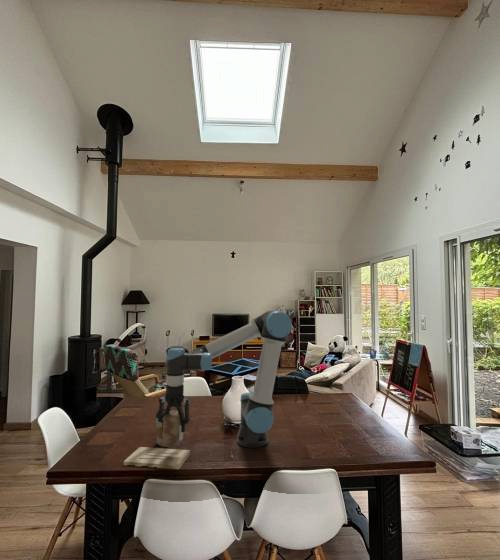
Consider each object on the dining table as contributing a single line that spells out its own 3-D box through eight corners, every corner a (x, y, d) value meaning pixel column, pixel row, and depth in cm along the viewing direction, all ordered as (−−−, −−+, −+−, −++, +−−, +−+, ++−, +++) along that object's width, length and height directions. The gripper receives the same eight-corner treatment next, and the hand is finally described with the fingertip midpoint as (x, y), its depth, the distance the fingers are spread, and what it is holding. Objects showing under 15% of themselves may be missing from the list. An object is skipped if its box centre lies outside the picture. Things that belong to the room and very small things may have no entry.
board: (190, 453, 145) (190, 450, 146) (178, 469, 132) (179, 465, 132) (139, 450, 149) (139, 446, 149) (123, 465, 135) (123, 461, 135)
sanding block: (183, 438, 144) (184, 411, 145) (176, 447, 135) (176, 417, 136) (170, 437, 145) (171, 410, 145) (162, 446, 136) (163, 416, 137)
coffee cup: (155, 447, 151) (155, 414, 152) (155, 440, 159) (155, 409, 160) (173, 445, 154) (174, 413, 155) (172, 438, 162) (173, 407, 163)
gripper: (198, 383, 144) (197, 437, 142) (157, 381, 147) (156, 434, 145) (193, 387, 137) (191, 444, 135) (150, 385, 139) (148, 441, 137)
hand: (173, 439), depth 140 cm, fingers closed on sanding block, 6 cm apart
